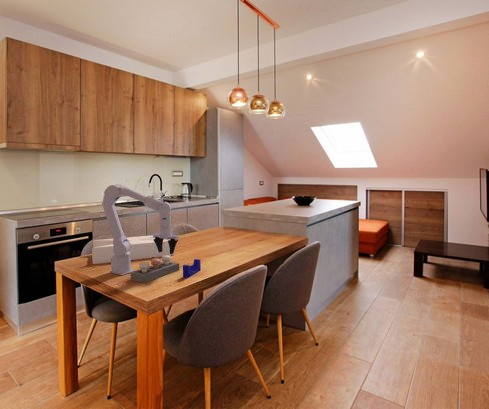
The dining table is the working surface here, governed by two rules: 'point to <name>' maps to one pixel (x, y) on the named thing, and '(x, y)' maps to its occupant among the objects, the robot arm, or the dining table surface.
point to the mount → (154, 272)
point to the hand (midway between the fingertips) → (166, 252)
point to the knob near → (144, 266)
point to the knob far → (166, 259)
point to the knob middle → (155, 263)
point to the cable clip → (191, 268)
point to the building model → (139, 249)
